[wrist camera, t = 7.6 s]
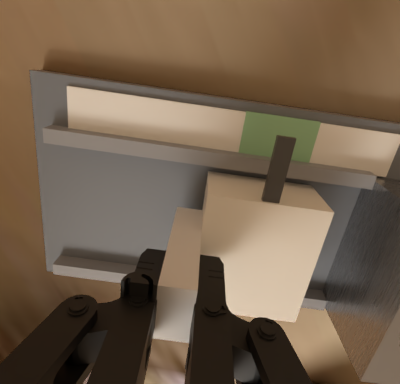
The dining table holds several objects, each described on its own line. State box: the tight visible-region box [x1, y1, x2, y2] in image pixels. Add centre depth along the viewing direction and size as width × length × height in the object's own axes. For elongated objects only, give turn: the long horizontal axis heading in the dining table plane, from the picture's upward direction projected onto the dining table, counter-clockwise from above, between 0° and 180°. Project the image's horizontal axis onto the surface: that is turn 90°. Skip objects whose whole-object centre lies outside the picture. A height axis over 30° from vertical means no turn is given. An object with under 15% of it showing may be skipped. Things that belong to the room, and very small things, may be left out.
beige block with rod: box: [200, 135, 334, 323], centre depth 16 cm, size 6×10×3 cm, turn 172°
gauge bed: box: [30, 70, 400, 310], centre depth 18 cm, size 22×13×2 cm, turn 82°
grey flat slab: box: [322, 177, 400, 384], centre depth 16 cm, size 3×9×7 cm, turn 172°
